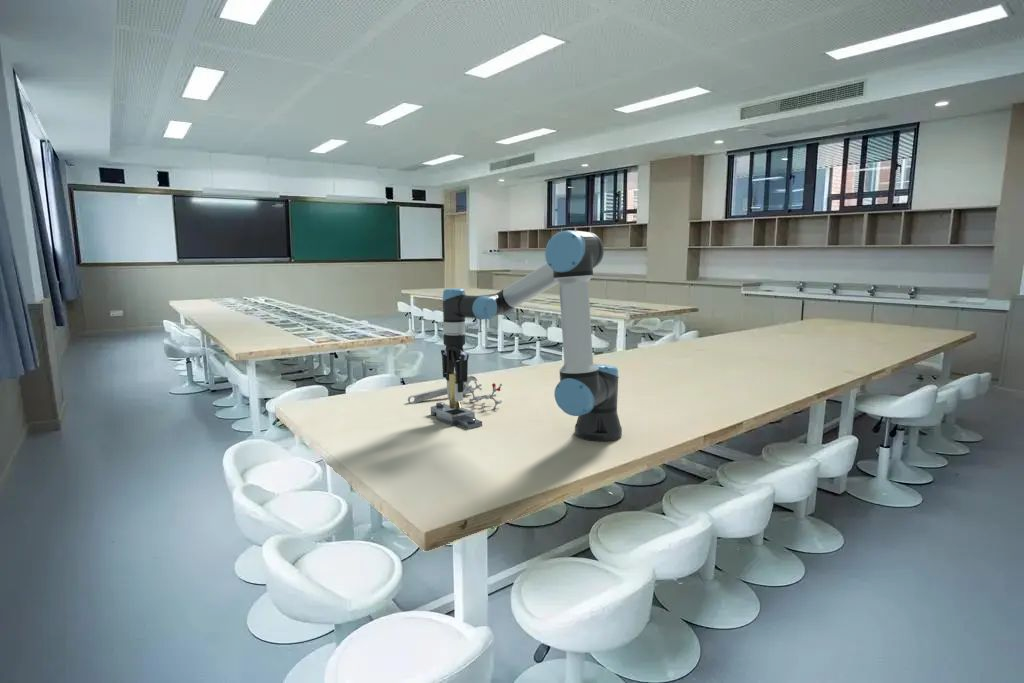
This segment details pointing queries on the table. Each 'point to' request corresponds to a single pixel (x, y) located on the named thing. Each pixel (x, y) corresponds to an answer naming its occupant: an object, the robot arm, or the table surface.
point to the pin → (453, 392)
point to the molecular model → (484, 395)
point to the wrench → (439, 392)
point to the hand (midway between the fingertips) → (455, 399)
